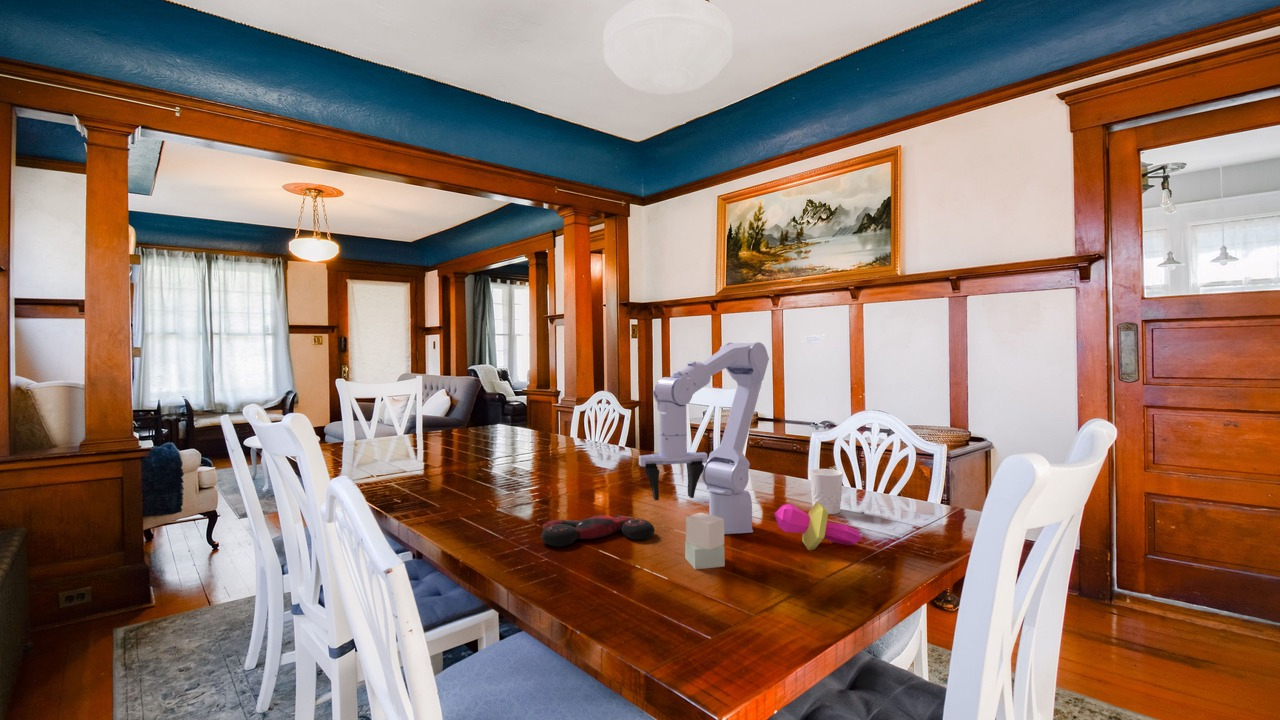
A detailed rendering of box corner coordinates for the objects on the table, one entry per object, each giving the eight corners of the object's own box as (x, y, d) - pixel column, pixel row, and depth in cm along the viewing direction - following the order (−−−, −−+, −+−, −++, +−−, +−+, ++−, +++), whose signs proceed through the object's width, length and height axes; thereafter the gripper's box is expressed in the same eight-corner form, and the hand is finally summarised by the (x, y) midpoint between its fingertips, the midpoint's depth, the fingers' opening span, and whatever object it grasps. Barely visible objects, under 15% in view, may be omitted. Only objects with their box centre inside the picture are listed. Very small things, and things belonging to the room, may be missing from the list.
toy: (863, 562, 116) (870, 511, 120) (776, 535, 117) (786, 486, 121) (844, 565, 126) (851, 517, 129) (763, 539, 126) (772, 493, 130)
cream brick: (701, 536, 118) (701, 512, 118) (724, 544, 114) (724, 518, 114) (686, 541, 115) (685, 516, 115) (709, 549, 111) (709, 523, 111)
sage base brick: (713, 556, 118) (713, 536, 118) (724, 567, 113) (724, 546, 113) (685, 559, 117) (685, 539, 117) (695, 570, 111) (694, 549, 111)
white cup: (849, 512, 148) (849, 473, 148) (827, 517, 144) (827, 476, 144) (825, 505, 155) (825, 467, 155) (803, 509, 151) (803, 470, 151)
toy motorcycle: (658, 546, 128) (641, 515, 143) (658, 524, 127) (641, 495, 142) (543, 560, 123) (538, 525, 138) (542, 537, 122) (538, 505, 137)
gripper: (700, 429, 128) (700, 491, 129) (635, 432, 125) (636, 495, 126) (710, 434, 122) (710, 499, 122) (642, 437, 119) (643, 504, 119)
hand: (673, 498), depth 123 cm, fingers open, 7 cm apart
